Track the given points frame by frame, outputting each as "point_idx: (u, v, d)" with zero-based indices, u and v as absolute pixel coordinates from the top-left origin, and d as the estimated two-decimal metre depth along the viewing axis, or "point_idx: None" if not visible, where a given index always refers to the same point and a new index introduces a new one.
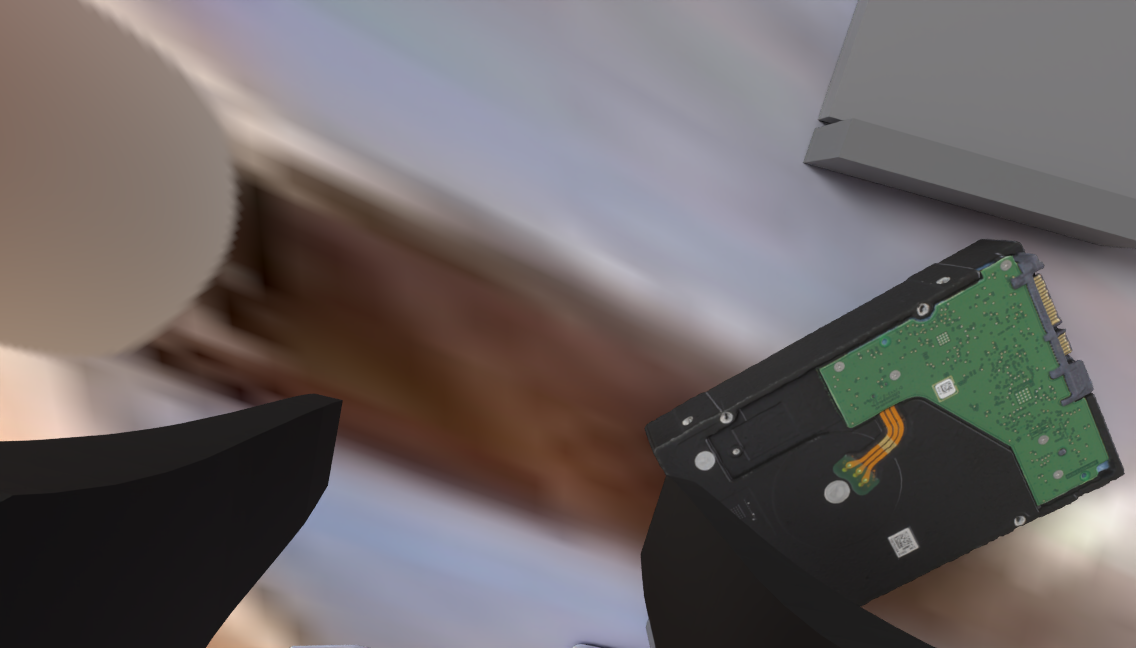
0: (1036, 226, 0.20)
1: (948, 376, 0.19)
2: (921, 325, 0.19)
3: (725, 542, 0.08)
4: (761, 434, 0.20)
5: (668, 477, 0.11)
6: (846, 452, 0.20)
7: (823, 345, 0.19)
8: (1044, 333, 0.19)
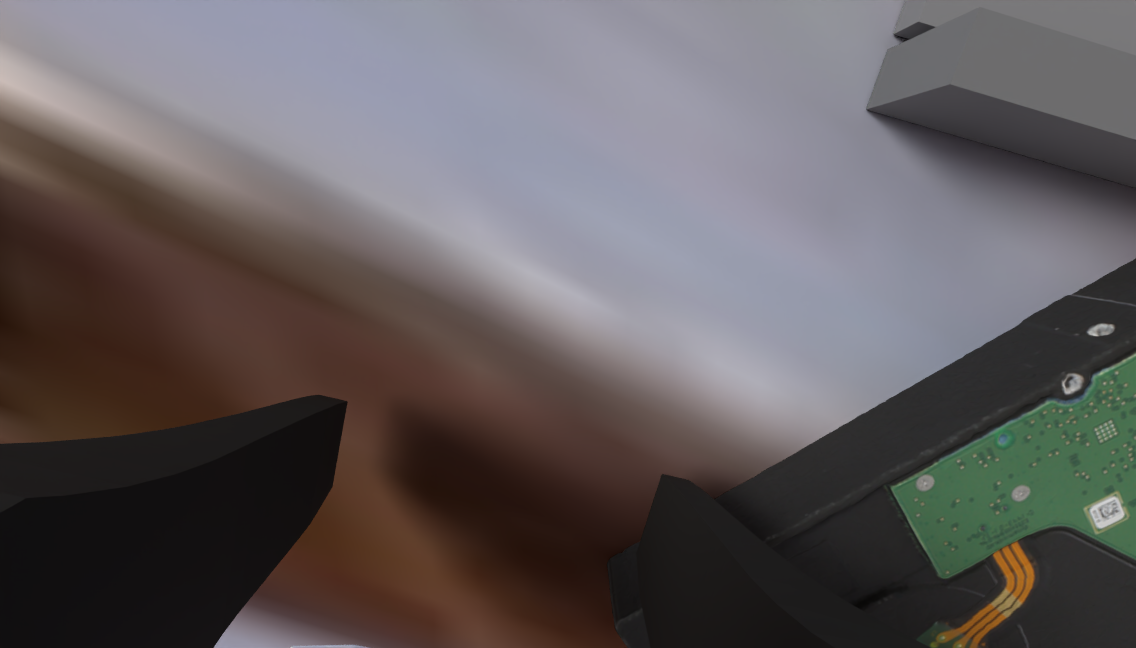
0: None
1: (1113, 492, 0.11)
2: (1069, 411, 0.11)
3: (719, 541, 0.08)
4: None
5: (664, 476, 0.11)
6: (938, 618, 0.12)
7: (895, 442, 0.12)
8: None
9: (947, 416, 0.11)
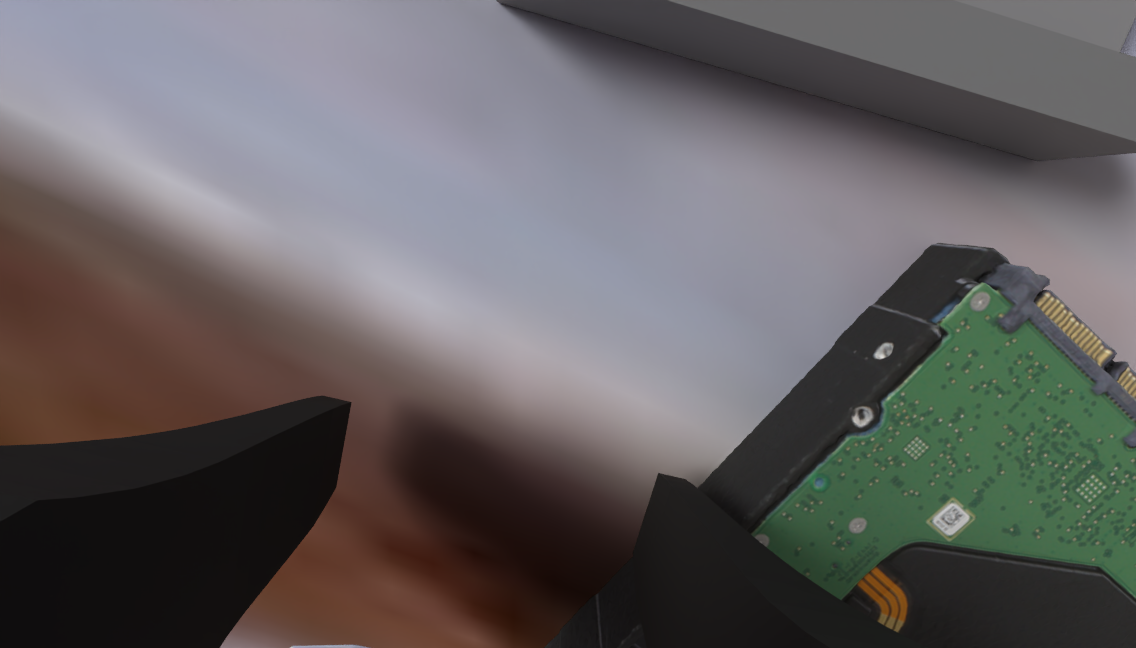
0: (917, 122, 0.11)
1: (949, 499, 0.11)
2: (871, 440, 0.11)
3: (714, 539, 0.08)
4: None
5: (660, 475, 0.11)
6: None
7: (729, 504, 0.12)
8: (1091, 383, 0.11)
9: (768, 469, 0.12)
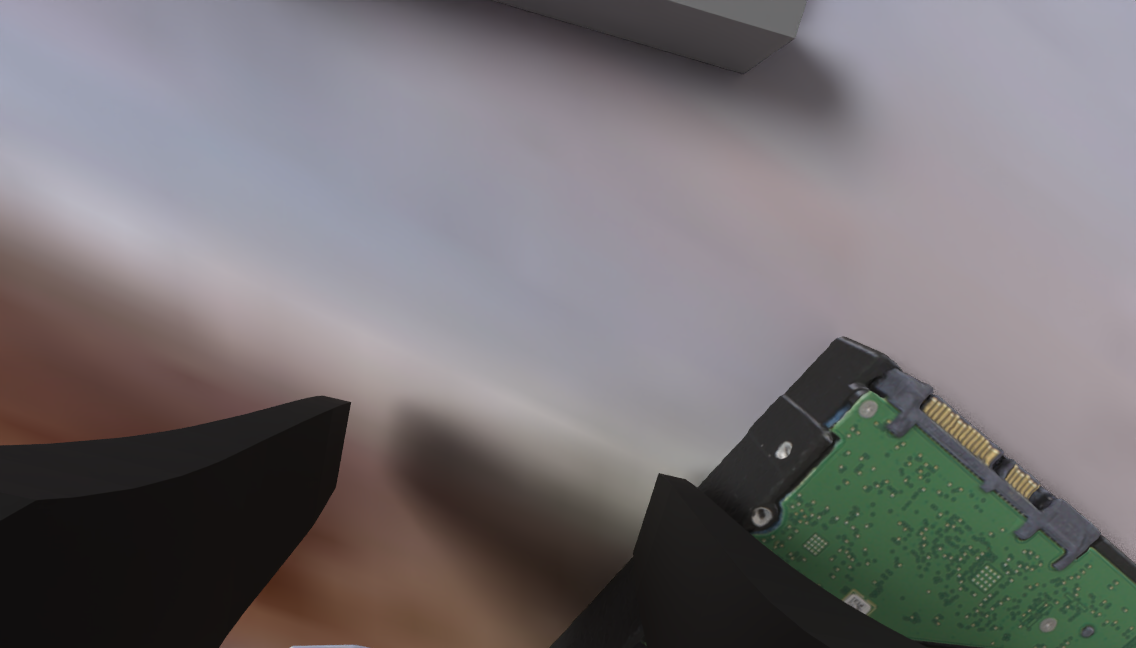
0: (606, 30, 0.11)
1: (850, 591, 0.12)
2: (771, 538, 0.11)
3: (715, 540, 0.08)
4: None
5: (660, 475, 0.11)
6: None
7: None
8: (979, 482, 0.11)
9: None
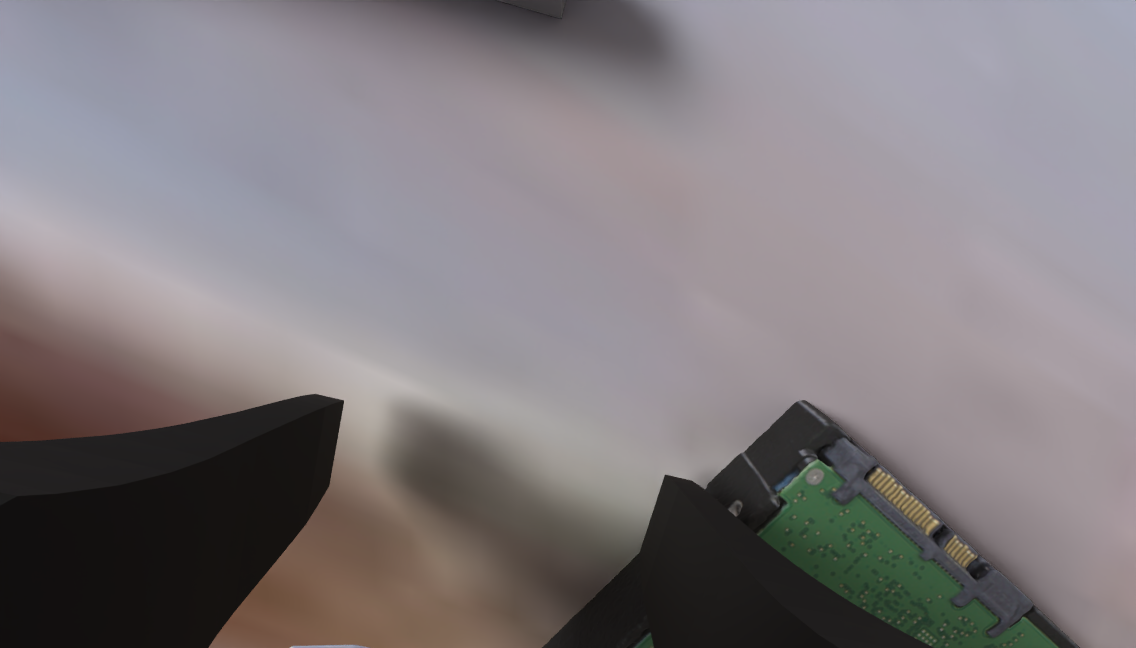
0: None
1: None
2: None
3: (723, 541, 0.08)
4: None
5: (667, 477, 0.11)
6: None
7: (596, 637, 0.13)
8: (919, 551, 0.11)
9: (630, 609, 0.12)
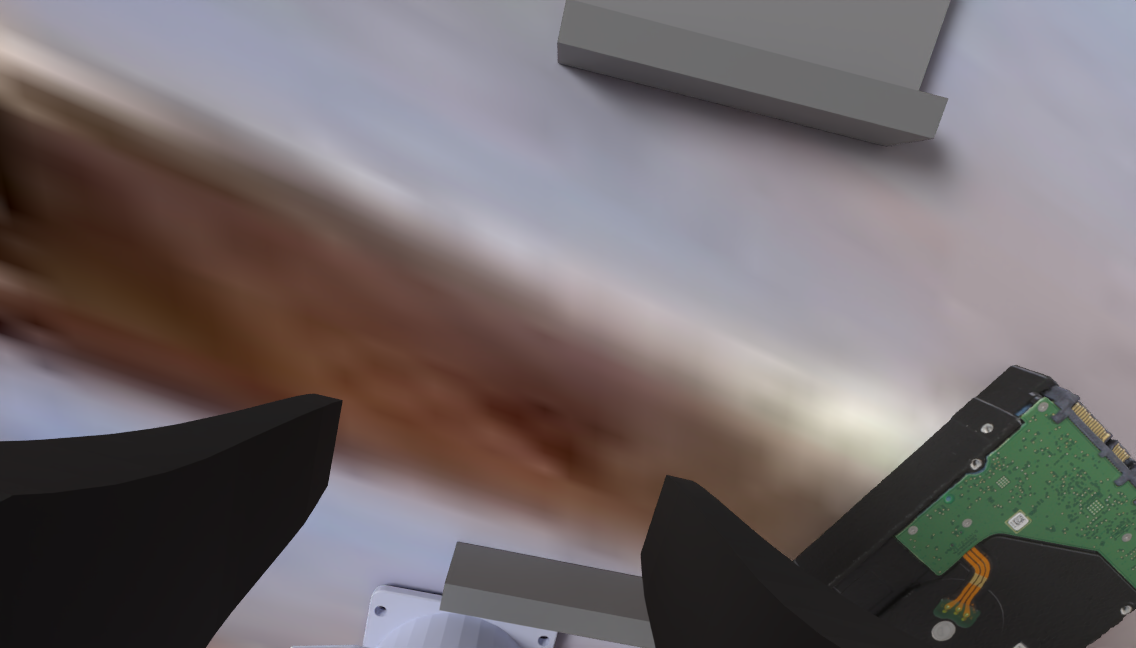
0: (810, 125, 0.19)
1: (1018, 510, 0.20)
2: (979, 477, 0.20)
3: (725, 542, 0.08)
4: (857, 599, 0.21)
5: (668, 477, 0.11)
6: (942, 596, 0.21)
7: (892, 509, 0.21)
8: (1098, 451, 0.20)
9: (917, 490, 0.21)
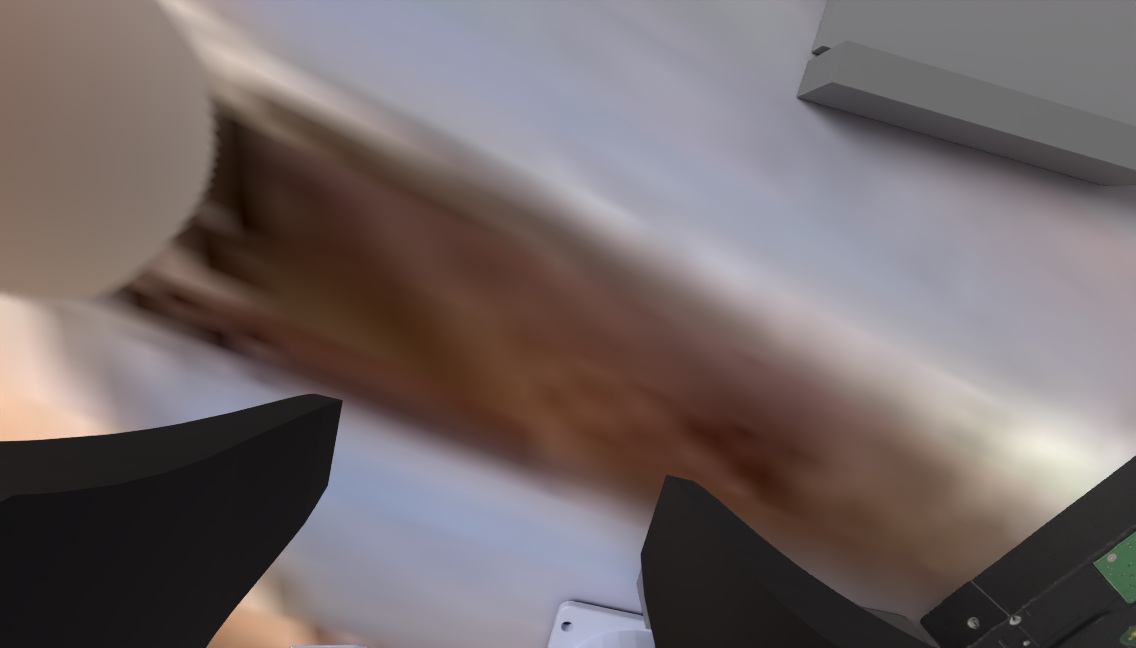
0: (1035, 164, 0.19)
1: None
2: None
3: (725, 542, 0.08)
4: (1045, 622, 0.22)
5: (668, 477, 0.11)
6: (1130, 624, 0.21)
7: (1087, 535, 0.21)
8: None
9: (1115, 518, 0.21)
